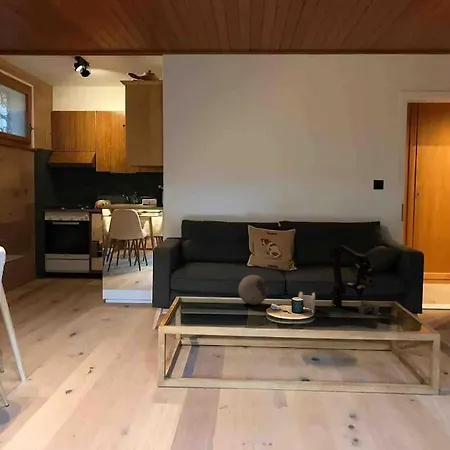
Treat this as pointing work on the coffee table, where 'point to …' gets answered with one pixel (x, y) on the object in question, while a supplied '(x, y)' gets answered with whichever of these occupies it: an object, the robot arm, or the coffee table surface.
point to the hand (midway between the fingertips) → (359, 297)
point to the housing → (373, 307)
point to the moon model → (253, 289)
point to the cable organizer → (308, 300)
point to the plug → (364, 309)
